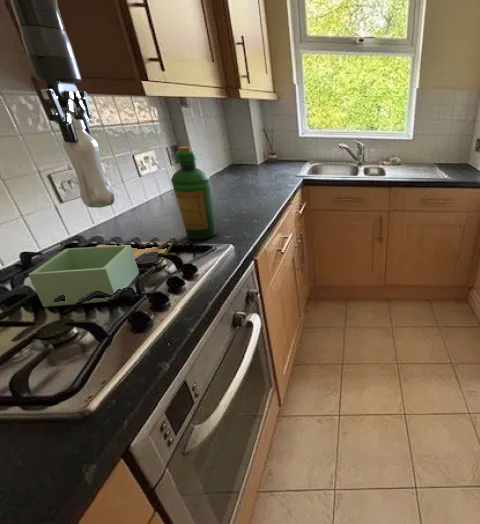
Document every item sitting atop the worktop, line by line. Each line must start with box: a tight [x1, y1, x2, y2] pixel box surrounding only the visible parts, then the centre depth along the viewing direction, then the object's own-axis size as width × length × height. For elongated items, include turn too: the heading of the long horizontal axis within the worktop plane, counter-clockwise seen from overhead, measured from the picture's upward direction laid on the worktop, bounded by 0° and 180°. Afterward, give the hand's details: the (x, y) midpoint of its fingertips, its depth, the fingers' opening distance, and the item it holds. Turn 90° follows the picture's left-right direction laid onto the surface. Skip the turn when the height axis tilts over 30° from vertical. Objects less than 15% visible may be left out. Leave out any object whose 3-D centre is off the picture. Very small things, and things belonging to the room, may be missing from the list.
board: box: [95, 240, 174, 265], centre depth 94 cm, size 20×14×1 cm
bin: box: [27, 245, 140, 308], centre depth 76 cm, size 14×14×8 cm
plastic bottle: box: [61, 118, 116, 209], centre depth 78 cm, size 6×7×20 cm
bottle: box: [170, 146, 217, 241], centre depth 103 cm, size 11×11×28 cm
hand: (79, 140), depth 76 cm, fingers closed on plastic bottle, 6 cm apart
